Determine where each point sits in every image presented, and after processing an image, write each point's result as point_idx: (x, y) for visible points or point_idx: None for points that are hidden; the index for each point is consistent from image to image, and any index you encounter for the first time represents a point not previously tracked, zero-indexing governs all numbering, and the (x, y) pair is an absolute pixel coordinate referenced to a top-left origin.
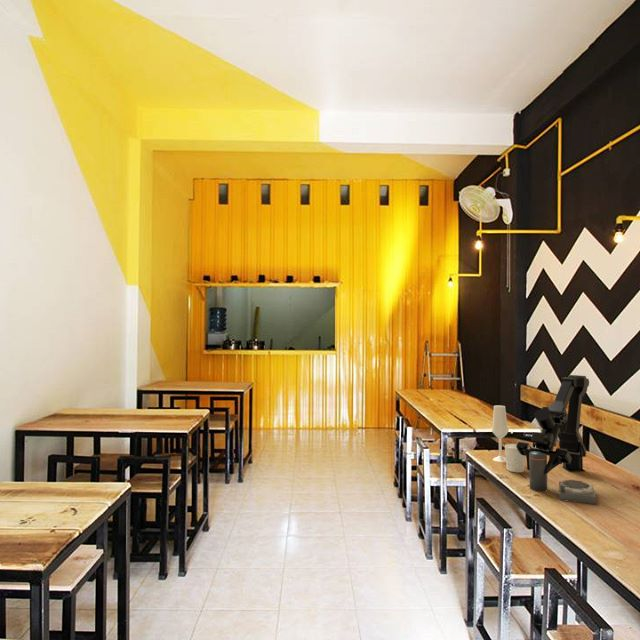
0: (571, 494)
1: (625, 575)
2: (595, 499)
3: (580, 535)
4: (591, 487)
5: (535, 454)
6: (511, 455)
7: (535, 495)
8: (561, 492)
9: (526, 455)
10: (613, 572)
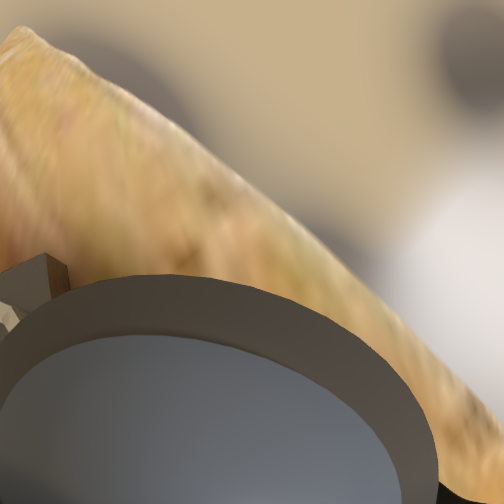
0: (2, 273)
1: (14, 32)
2: None
3: (35, 62)
4: None
5: (154, 343)
6: None
7: (189, 250)
8: (37, 265)
9: (447, 495)
10: (24, 27)
